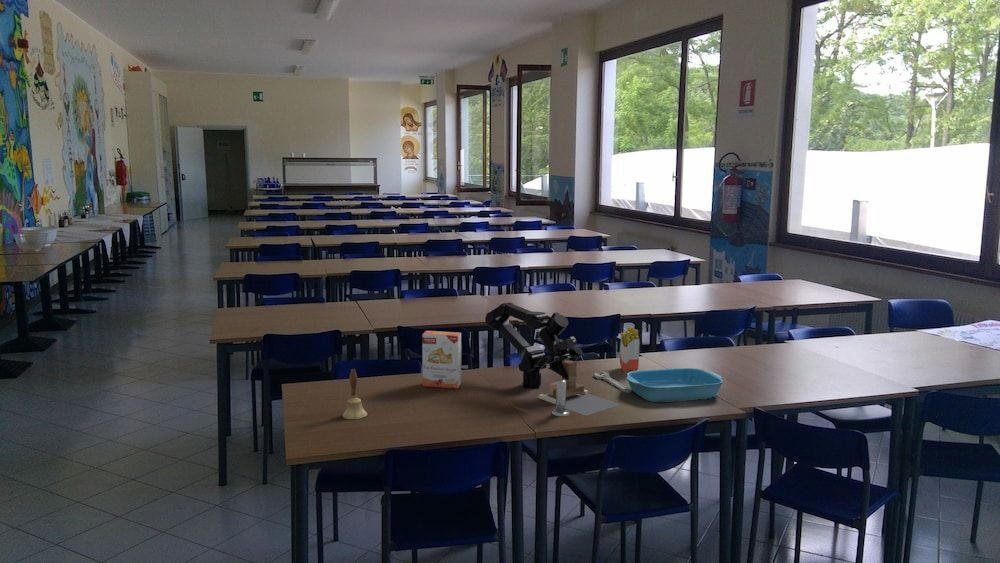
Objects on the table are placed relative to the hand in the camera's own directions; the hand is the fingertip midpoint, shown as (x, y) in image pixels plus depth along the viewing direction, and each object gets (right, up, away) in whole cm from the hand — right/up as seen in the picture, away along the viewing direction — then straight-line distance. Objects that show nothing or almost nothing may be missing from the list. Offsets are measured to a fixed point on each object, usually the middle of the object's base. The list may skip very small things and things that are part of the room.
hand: (571, 378), depth 261 cm
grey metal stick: (-5, -11, -14) cm, 18 cm away
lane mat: (+2, -8, -1) cm, 9 cm away
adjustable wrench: (+17, -5, +21) cm, 28 cm away
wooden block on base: (-1, -6, +2) cm, 7 cm away
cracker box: (-48, -5, +16) cm, 51 cm away
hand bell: (-75, -11, -16) cm, 77 cm away
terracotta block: (-4, -7, +6) cm, 10 cm away
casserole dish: (+39, -8, +9) cm, 40 cm away
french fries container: (+27, -2, +38) cm, 47 cm away
